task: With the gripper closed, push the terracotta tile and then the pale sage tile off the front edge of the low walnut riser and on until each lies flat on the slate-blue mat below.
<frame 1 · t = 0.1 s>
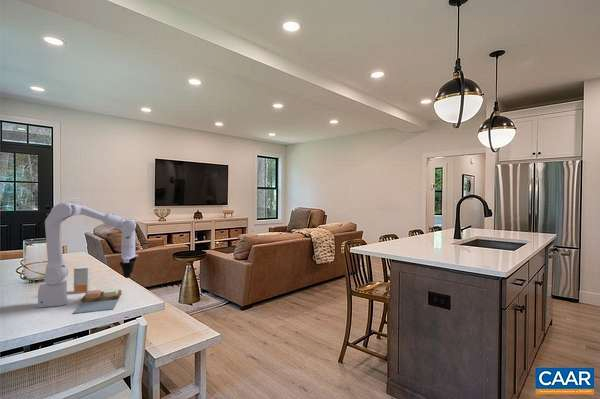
hand: (128, 274, 145), 10 cm above the table, tool pointing down, fingers open, 7 cm apart
mat: (96, 306, 132), on the table
skincare box: (82, 292, 151), on the table
tile terracotta: (93, 295, 140), point 2 cm above the table, touching riser
tile sage: (111, 293, 142), point 2 cm above the table, touching riser
riser: (102, 298, 142), on the table
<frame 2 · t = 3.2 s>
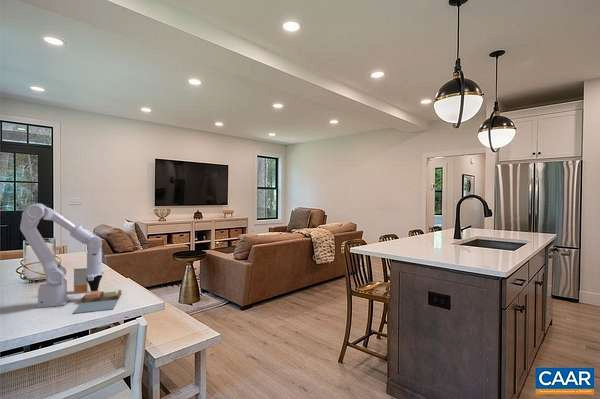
hand: (94, 292, 142), 3 cm above the table, tool pointing down, fingers closed
tile terracotta: (92, 295, 139), point 2 cm above the table, touching gripper
everything else where it was.
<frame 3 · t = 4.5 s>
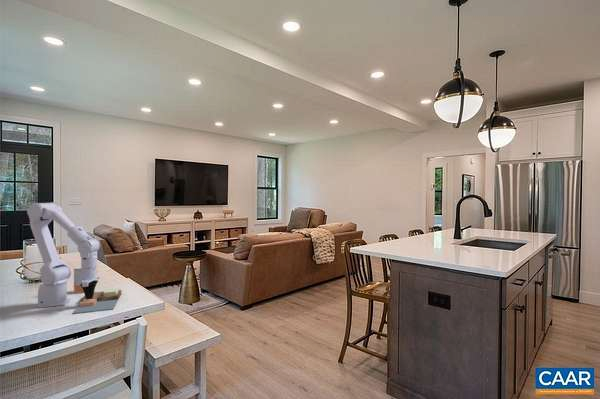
hand: (89, 298, 134), 3 cm above the table, tool pointing down, fingers closed
tile terracotta: (88, 304, 133), resting on mat
everything else where it was.
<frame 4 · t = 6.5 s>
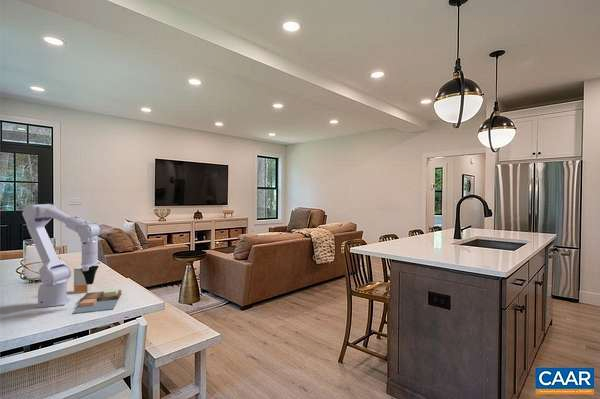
hand: (89, 283, 133), 9 cm above the table, tool pointing down, fingers closed
nothing on the table moved.
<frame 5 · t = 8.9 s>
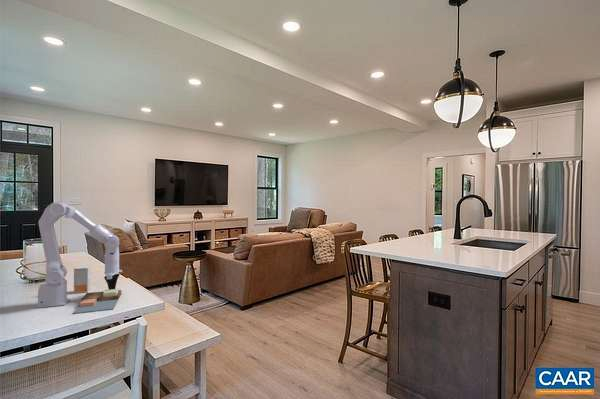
hand: (112, 290, 145), 3 cm above the table, tool pointing down, fingers closed
tile sage: (110, 294, 142), point 2 cm above the table, touching gripper, riser
everything else where it was.
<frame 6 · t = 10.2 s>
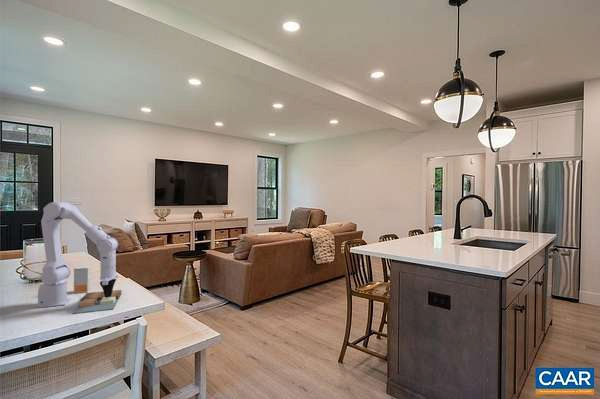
hand: (108, 296, 136), 3 cm above the table, tool pointing down, fingers closed
tile sage: (108, 302, 136), resting on mat
everything else where it was.
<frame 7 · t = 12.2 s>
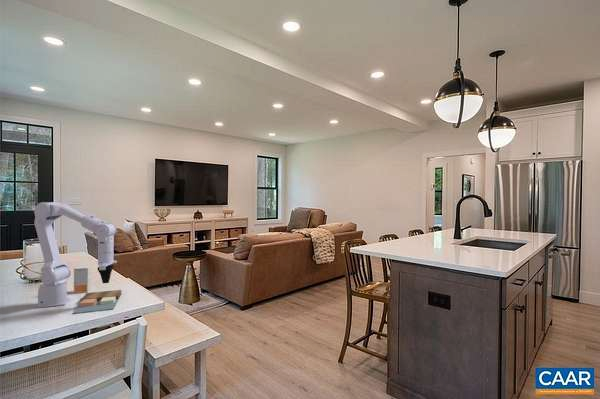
hand: (105, 282, 135), 9 cm above the table, tool pointing down, fingers closed
nothing on the table moved.
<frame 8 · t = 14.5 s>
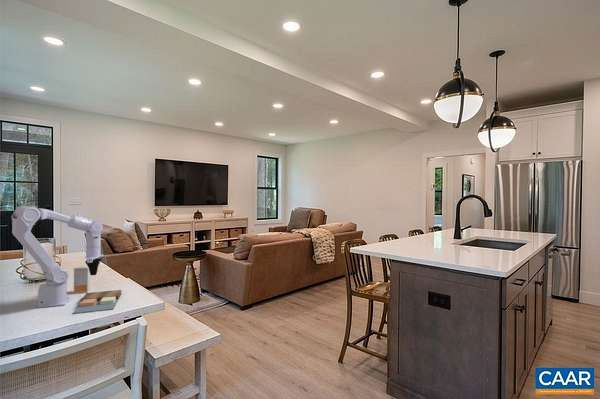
hand: (93, 274, 147), 9 cm above the table, tool pointing down, fingers closed
nothing on the table moved.
at the end: tile terracotta inside the target area (5.0 cm from its centre), resting on mat; tile sage inside the target area (5.1 cm from its centre), resting on mat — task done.
